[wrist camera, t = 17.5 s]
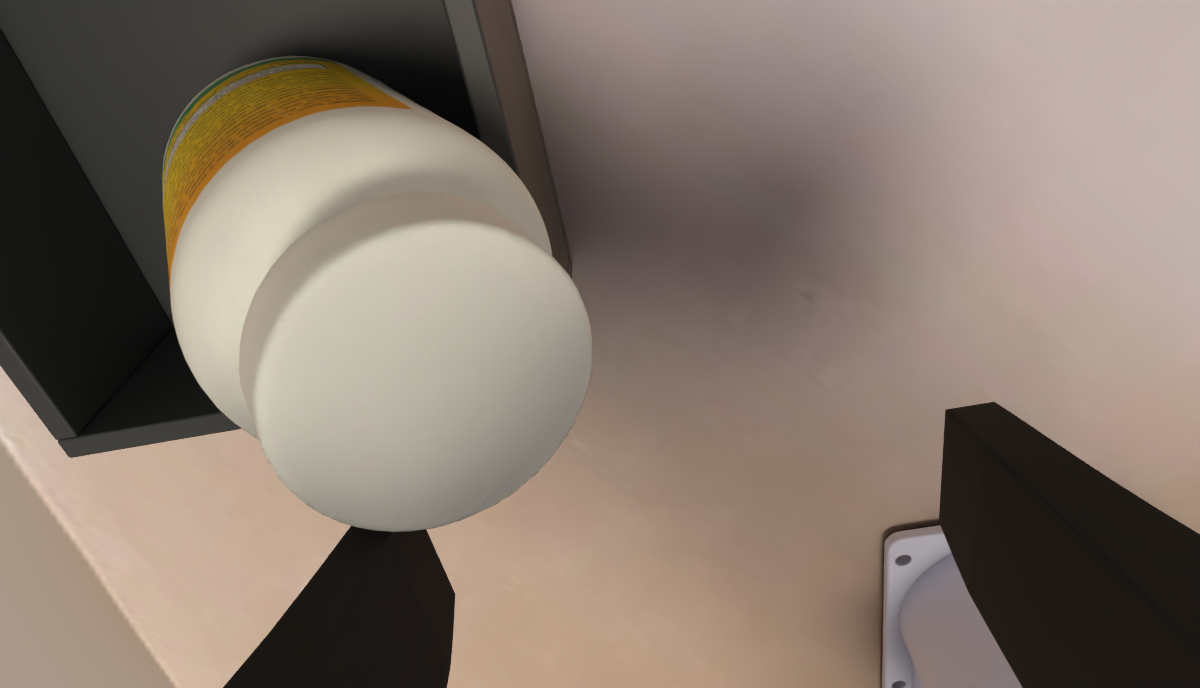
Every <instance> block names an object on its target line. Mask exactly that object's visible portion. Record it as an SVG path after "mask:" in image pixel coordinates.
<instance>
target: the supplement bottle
mask: <svg viewBox="0 0 1200 688" xmlns="http://www.w3.org/2000/svg"><path fill="white" fill-rule="evenodd" d="M162 192H163V212H164V223H165V235H166V251H167V259H168V272H169V285H170V298H171V310H172V316H173V322H174V326H175V330H176V335H177V338H178V341H179V344H180V347H181V350H182V352H183V355H184V357H185V360H186V362H187V364H188V365H189V367H190V369H191V371H192V373H193V375H194V377H195V378H196V380H197V382H198V383H199V385H200V387H201V388H202V389H203V390H204V392H205V393H206V394H207V395H208V397H209V398H210V399H211V400H212V402H213V403H214V404H215V405H216V407H217V408H218V409H219V410H220V411H221V412H222V413H224V414H225V415H226V416H227V417H228V418H229V419H230V420H232V421H233V422H234V423H235V424H236V425H238V426H239V427H241V428H242V429H244V430H245V431H246V432H248V433H249V434H251V435H252V436H254V437H256V438H257V439H259V442H260V444H261V446H262V448H263V451H264V453H265V455H266V457H267V459H268V462H269V463H270V465H271V466H272V468H273V469H274V471H275V472H276V474H277V475H278V477H279V478H280V480H281V481H282V482H283V483H284V484H285V485H286V486H287V487H288V488H289V489H290V490H291V491H292V492H293V493H294V494H295V495H296V496H297V497H298V498H300V499H301V500H302V501H303V502H304V503H305V504H306V505H308V506H309V507H311V508H313V509H314V510H316V511H318V512H319V513H321V514H323V515H325V516H327V517H330V518H332V519H334V520H337V521H339V522H342V523H345V524H348V525H351V526H354V527H358V528H364V529H369V530H375V531H390V532H399V531H416V530H424V529H431V528H436V527H440V526H444V525H447V524H450V523H453V522H456V521H460V520H462V519H465V518H467V517H469V516H472V515H474V514H476V513H478V512H481V511H483V510H485V509H487V508H489V507H491V506H493V505H495V504H497V503H499V502H500V501H501V500H502V499H504V498H506V497H508V496H510V495H511V494H512V493H514V492H515V491H516V490H518V489H519V488H520V487H521V486H522V485H523V484H525V483H526V482H527V481H528V480H529V479H530V478H532V477H533V476H534V475H535V474H537V473H538V471H539V470H540V469H541V468H542V466H543V465H544V464H545V463H546V462H547V461H548V460H549V459H550V458H551V457H552V455H553V454H554V453H555V451H556V450H557V449H558V447H559V446H560V445H561V443H562V442H563V440H564V439H565V437H566V436H567V434H568V432H569V431H570V429H571V427H572V425H573V424H574V422H575V420H576V418H577V416H578V414H579V412H580V409H581V407H582V404H583V401H584V398H585V395H586V391H587V387H588V383H589V380H590V376H591V366H592V334H591V327H590V322H589V319H588V315H587V311H586V308H585V306H584V303H583V301H582V299H581V296H580V294H579V292H578V290H577V288H576V286H575V284H574V283H573V281H572V279H571V278H570V276H569V274H568V273H567V272H566V271H565V270H564V269H563V268H562V266H561V265H560V264H559V263H558V262H557V261H556V260H555V259H554V258H553V257H552V250H551V246H550V241H549V237H548V234H547V231H546V227H545V224H544V222H543V219H542V217H541V214H540V212H539V210H538V208H537V206H536V204H535V202H534V200H533V198H532V196H531V195H530V193H529V191H528V190H527V188H526V187H525V185H524V184H523V182H522V181H521V180H520V178H519V177H518V176H517V175H516V174H515V172H514V171H513V170H512V169H511V168H510V167H509V166H508V164H507V163H506V162H505V161H503V160H502V159H501V158H500V157H499V156H498V155H497V154H496V153H495V152H494V151H492V150H491V149H490V148H489V147H487V146H486V145H485V144H484V143H482V142H481V141H479V140H478V139H476V138H475V137H473V136H472V135H470V134H469V133H467V132H466V131H464V130H463V129H461V128H459V127H458V126H456V125H454V124H452V123H450V122H449V121H447V120H445V119H443V118H441V117H440V116H438V115H436V114H434V113H433V112H431V111H430V110H428V109H426V108H424V107H422V106H420V105H419V104H417V103H415V102H413V101H412V100H410V99H409V98H407V97H405V96H404V95H402V94H400V93H399V92H397V91H395V90H394V89H392V88H390V87H388V86H387V85H385V84H384V83H383V82H381V81H379V80H377V79H374V78H373V77H371V76H369V75H367V74H365V73H363V72H361V71H359V70H357V69H355V68H352V67H350V66H348V65H345V64H342V63H339V62H335V61H331V60H327V59H322V58H315V57H308V56H285V57H276V58H269V59H265V60H261V61H257V62H253V63H250V64H247V65H244V66H242V67H239V68H237V69H235V70H232V71H230V72H228V73H226V74H224V75H223V76H221V77H219V78H218V79H216V80H215V81H213V82H212V83H210V84H209V85H208V86H206V87H205V88H204V89H203V90H202V91H201V92H199V93H198V94H197V95H196V96H195V97H194V98H193V99H192V101H191V102H190V103H189V104H188V105H187V106H186V108H185V109H184V111H183V112H182V114H181V115H180V117H179V118H178V120H177V122H176V124H175V126H174V128H173V130H172V132H171V135H170V138H169V140H168V143H167V147H166V151H165V154H164V161H163V171H162Z"/></svg>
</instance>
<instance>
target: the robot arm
mask: <svg viewBox="0 0 1200 688" xmlns="http://www.w3.org/2000/svg"><path fill="white" fill-rule="evenodd" d="M939 523H940V525H939V526H932V527H925V528H919V529H912V530H905V531H899V532H895V533H893V534H891V535H890V536H889V537H888V538H887V539H886V541H885V544H884V601H883V660H882V688H1200V534H1198V533H1197V532H1195V531H1193V530H1192V529H1190V528H1188V527H1187V526H1185V525H1183V524H1182V523H1180V522H1178V521H1177V520H1175V519H1173V518H1172V517H1170V516H1168V515H1167V514H1165V513H1163V512H1162V511H1160V510H1159V509H1157V508H1155V507H1154V506H1152V505H1150V504H1149V503H1147V502H1146V501H1144V500H1142V499H1141V498H1139V497H1138V496H1136V495H1135V494H1133V493H1131V492H1130V491H1128V490H1127V489H1125V488H1124V487H1122V486H1120V485H1119V484H1117V483H1116V482H1114V481H1113V480H1111V479H1110V478H1108V477H1107V476H1105V475H1103V474H1102V473H1100V472H1099V471H1097V470H1096V469H1094V468H1093V467H1091V466H1090V465H1088V464H1087V463H1085V462H1084V461H1082V460H1081V459H1079V458H1078V457H1076V456H1075V455H1073V454H1072V453H1070V452H1069V451H1067V450H1066V449H1064V448H1063V447H1061V446H1060V445H1058V444H1057V443H1055V442H1054V441H1052V440H1051V439H1049V438H1048V437H1046V436H1045V435H1043V434H1042V433H1040V432H1039V431H1037V430H1036V429H1034V428H1033V427H1031V426H1030V425H1029V424H1027V423H1026V422H1024V421H1023V420H1021V419H1020V418H1018V417H1017V416H1015V415H1014V414H1012V413H1011V412H1009V411H1008V410H1006V409H1004V408H1003V407H1001V406H1000V405H998V404H997V403H995V402H990V403H984V404H978V405H972V406H966V407H959V408H953V409H947V410H946V412H945V429H944V445H943V462H942V479H941V496H940V512H939ZM901 555H902V556H901ZM454 606H455V593H454V591H453V588H452V586H451V584H450V582H449V579H448V577H447V575H446V573H445V570H444V568H443V566H442V564H441V562H440V559H439V557H438V555H437V553H436V550H435V548H434V546H433V544H432V542H431V539H430V537H429V535H428V533H427V530H426V529H424V530H416V531H399V532H390V531H375V530H369V529H364V528H358V527H354V526H351V527H350V528H349V530H348V531H347V532H346V534H345V535H344V536H343V538H342V539H341V540H340V542H339V543H338V544H337V546H336V547H335V548H334V550H333V551H332V552H331V554H330V555H329V556H328V558H327V559H326V560H325V562H324V563H323V564H322V565H321V567H320V568H319V569H318V571H317V572H316V573H315V575H314V576H313V577H312V579H311V580H310V581H309V583H308V584H307V585H306V586H305V588H304V589H303V590H302V592H301V593H300V594H299V595H298V597H297V598H296V599H295V601H294V602H293V603H292V604H291V606H290V607H289V608H288V610H287V611H286V612H285V613H284V615H283V616H282V617H281V619H280V620H279V621H278V622H277V624H276V625H275V626H274V628H273V629H272V630H271V631H270V633H269V634H268V635H267V636H266V637H265V639H264V640H263V641H262V642H261V643H260V645H259V646H258V647H257V648H256V649H255V651H254V652H253V653H252V654H251V655H250V656H249V658H248V659H247V660H246V661H245V662H244V664H243V665H242V666H241V667H240V668H239V670H238V671H237V672H236V673H235V674H234V675H233V677H232V678H231V679H230V680H229V681H228V683H227V684H226V685H225V686H224V687H223V688H447V683H448V677H449V671H450V665H451V653H452V640H453V625H454Z"/></svg>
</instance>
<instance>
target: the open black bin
mask: <svg viewBox="0 0 1200 688" xmlns="http://www.w3.org/2000/svg"><path fill="white" fill-rule="evenodd" d="M285 56H308V57H315V58H322V59H327V60H331V61H335V62H339V63H342V64H345V65H348V66H350V67H352V68H355V69H357V70H359V71H361V72H363V73H365V74H367V75H369V76H371V77H373V78H374V79H377V80H379V81H381V82H383V83H384V84H385V85H387V86H388V87H390V88H392V89H394V90H395V91H397V92H399V93H400V94H402V95H404V96H405V97H407V98H409V99H410V100H412V101H413V102H415V103H417V104H419V105H420V106H422V107H424V108H426V109H428V110H430V111H431V112H433V113H434V114H436V115H438V116H440V117H441V118H443V119H445V120H447V121H449V122H450V123H452V124H454V125H456V126H458V127H459V128H461V129H463V130H464V131H466V132H467V133H469V134H470V135H472V136H473V137H475V138H476V139H478V140H479V141H481V142H482V143H484V144H485V145H486V146H487V147H489V148H490V149H491V150H492V151H494V152H495V153H496V154H497V155H498V156H499V157H500V158H501V159H502V160H503V161H505V162H506V163H507V164H508V166H509V167H510V168H511V169H512V170H513V171H514V172H515V174H516V175H517V176H518V177H519V178H520V180H521V181H522V182H523V184H524V185H525V187H526V188H527V190H528V191H529V193H530V195H531V196H532V198H533V200H534V202H535V204H536V206H537V208H538V210H539V212H540V214H541V217H542V219H543V222H544V224H545V227H546V231H547V234H548V237H549V241H550V246H551V250H552V257H553V258H554V259H555V260H556V261H557V262H558V263H559V264H560V265H561V266H562V268H563V269H564V270H565V271H566V272H567V273H568V274H569V276H570V278H571V279H572V259H571V255H570V250H569V246H568V242H567V238H566V233H565V229H564V225H563V220H562V216H561V212H560V208H559V203H558V199H557V195H556V191H555V186H554V182H553V178H552V174H551V169H550V165H549V161H548V156H547V152H546V148H545V144H544V139H543V135H542V131H541V127H540V122H539V118H538V114H537V109H536V105H535V101H534V97H533V92H532V88H531V84H530V80H529V75H528V71H527V67H526V63H525V58H524V54H523V50H522V45H521V41H520V37H519V33H518V28H517V24H516V20H515V16H514V11H513V7H512V3H511V0H0V366H1V367H2V368H3V370H4V371H5V372H6V374H7V375H8V376H9V378H10V379H11V380H12V382H13V383H14V384H15V386H16V387H17V388H18V390H19V391H20V392H21V394H22V395H23V396H24V398H25V399H26V400H27V402H28V403H29V404H30V406H31V407H32V408H33V410H34V411H35V412H36V414H37V415H38V416H39V418H40V419H41V420H42V422H43V423H44V424H45V426H46V427H47V428H48V430H49V431H50V432H51V434H52V435H53V436H54V438H55V439H56V440H58V443H59V445H60V446H61V447H62V449H63V450H64V451H65V453H66V454H67V455H68V456H69V457H71V458H72V457H78V456H84V455H90V454H96V453H102V452H108V451H113V450H119V449H125V448H131V447H137V446H143V445H149V444H154V443H160V442H166V441H172V440H178V439H184V438H190V437H195V436H201V435H207V434H213V433H219V432H225V431H231V430H237V429H242V428H241V427H239V426H238V425H236V424H235V423H234V422H233V421H232V420H230V419H229V418H228V417H227V416H226V415H225V414H224V413H222V412H221V411H220V410H219V409H218V408H217V407H216V405H215V404H214V403H213V402H212V400H211V399H210V398H209V397H208V395H207V394H206V393H205V392H204V390H203V389H202V388H201V387H200V385H199V383H198V382H197V380H196V378H195V377H194V375H193V373H192V371H191V369H190V367H189V365H188V364H187V362H186V360H185V357H184V355H183V352H182V350H181V347H180V344H179V341H178V338H177V335H176V330H175V326H174V322H173V316H172V310H171V298H170V285H169V272H168V259H167V251H166V235H165V223H164V212H163V192H162V171H163V161H164V154H165V151H166V147H167V143H168V140H169V138H170V135H171V132H172V130H173V128H174V126H175V124H176V122H177V120H178V118H179V117H180V115H181V114H182V112H183V111H184V109H185V108H186V106H187V105H188V104H189V103H190V102H191V101H192V99H193V98H194V97H195V96H196V95H197V94H198V93H199V92H201V91H202V90H203V89H204V88H205V87H206V86H208V85H209V84H210V83H212V82H213V81H215V80H216V79H218V78H219V77H221V76H223V75H224V74H226V73H228V72H230V71H232V70H235V69H237V68H239V67H242V66H244V65H247V64H250V63H253V62H257V61H261V60H265V59H269V58H276V57H285Z"/></svg>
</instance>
